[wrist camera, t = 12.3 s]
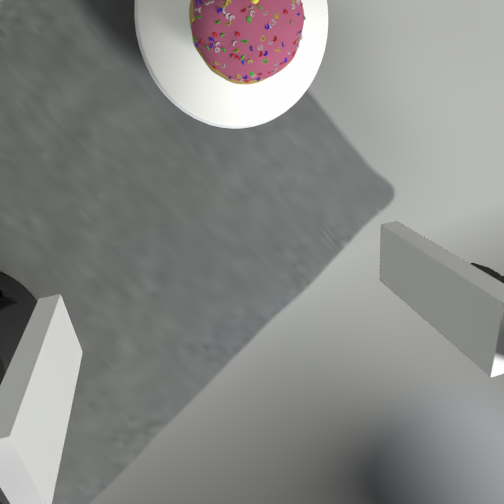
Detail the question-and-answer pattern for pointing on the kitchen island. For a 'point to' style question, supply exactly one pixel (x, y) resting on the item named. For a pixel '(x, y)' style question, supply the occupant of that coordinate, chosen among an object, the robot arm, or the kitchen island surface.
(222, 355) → the kitchen island surface
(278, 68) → the cupcake
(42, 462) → the robot arm
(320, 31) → the cake stand
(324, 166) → the kitchen island surface
